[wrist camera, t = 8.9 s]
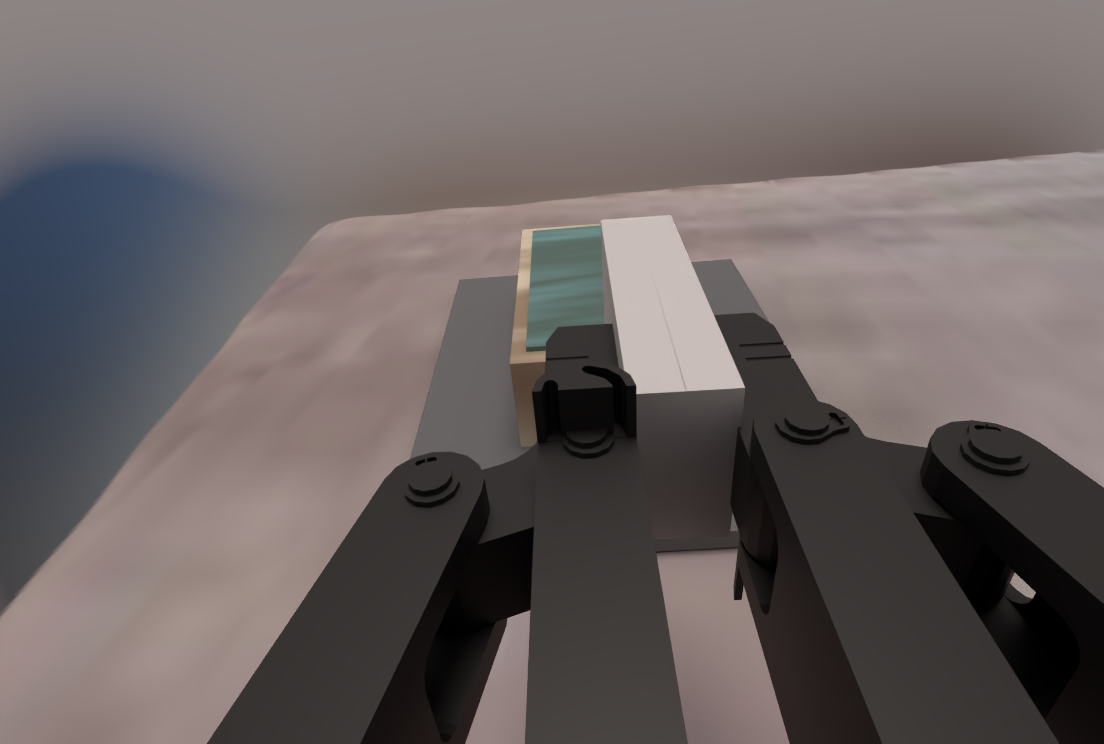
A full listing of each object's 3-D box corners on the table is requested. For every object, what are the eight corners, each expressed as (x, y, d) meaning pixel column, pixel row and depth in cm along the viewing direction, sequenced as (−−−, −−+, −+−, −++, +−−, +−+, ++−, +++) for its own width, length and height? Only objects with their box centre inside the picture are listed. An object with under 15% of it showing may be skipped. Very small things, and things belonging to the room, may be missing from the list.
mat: (885, 538, 22) (890, 521, 21) (389, 567, 22) (384, 551, 22) (730, 271, 40) (731, 259, 40) (461, 291, 41) (459, 279, 40)
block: (726, 344, 23) (667, 215, 35) (509, 359, 24) (522, 226, 35) (719, 434, 26) (665, 284, 37) (520, 447, 26) (529, 294, 38)
